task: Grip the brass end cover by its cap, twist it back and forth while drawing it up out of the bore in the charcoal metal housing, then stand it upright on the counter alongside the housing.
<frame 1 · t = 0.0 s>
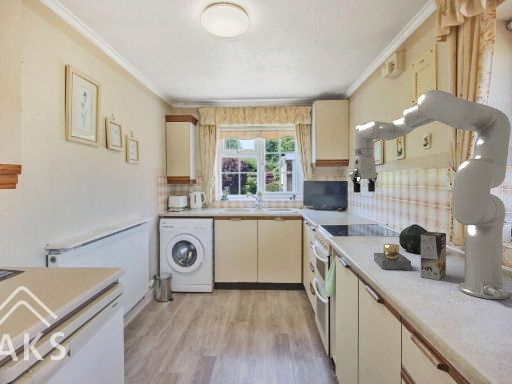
hand: (364, 192, 132), 31 cm above the worktop, tool pointing down, fingers open, 9 cm apart
end cover: (391, 265, 128), resting in housing
coffee box: (433, 276, 112), on the worktop
squash: (415, 252, 150), on the worktop
housing: (391, 264, 128), on the worktop
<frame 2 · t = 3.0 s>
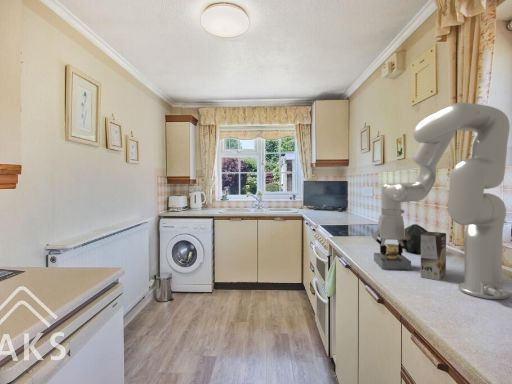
hand: (391, 254, 127), 5 cm above the worktop, tool pointing down, fingers closed on end cover, 6 cm apart
end cover: (391, 264, 128), resting in housing, touching gripper
everything else where it was.
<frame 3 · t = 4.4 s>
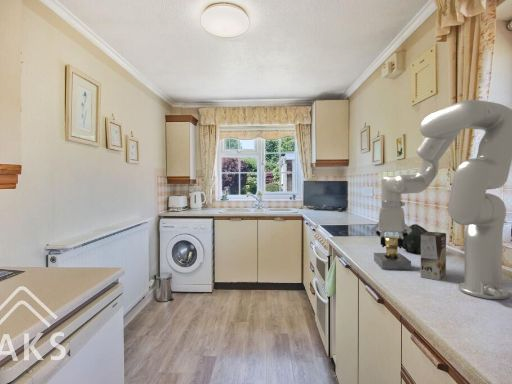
hand: (391, 246, 127), 8 cm above the worktop, tool pointing down, fingers closed on end cover, 6 cm apart
end cover: (391, 257, 127), point 3 cm above the worktop, touching gripper
everything else where it was.
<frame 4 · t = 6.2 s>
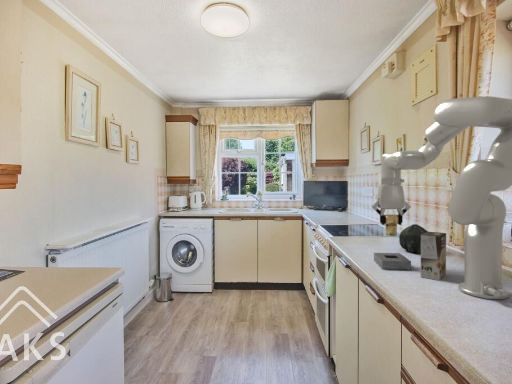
hand: (391, 224, 127), 17 cm above the worktop, tool pointing down, fingers closed on end cover, 6 cm apart
end cover: (391, 234, 127), point 13 cm above the worktop, touching gripper
everything else where it was.
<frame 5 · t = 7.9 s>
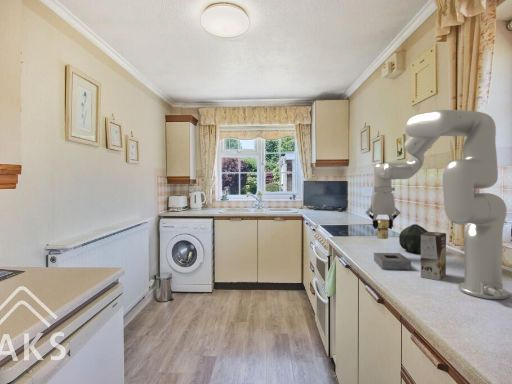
hand: (382, 228, 140), 14 cm above the worktop, tool pointing down, fingers closed on end cover, 6 cm apart
end cover: (382, 237, 140), point 9 cm above the worktop, touching gripper
everything else where it was.
when the fingers open (6 cm above the worktop, at t = 9.6 s): end cover drops 2 cm, on the worktop.
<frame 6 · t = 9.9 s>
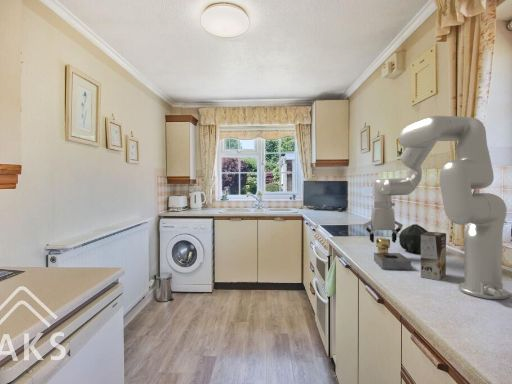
hand: (383, 241, 140), 7 cm above the worktop, tool pointing down, fingers open, 9 cm apart
end cover: (383, 257, 140), on the worktop
everything else where it was.
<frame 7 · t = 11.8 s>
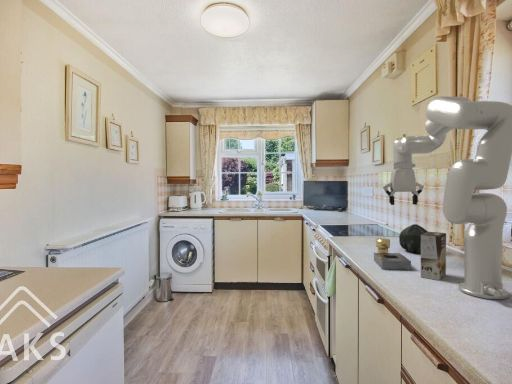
hand: (403, 204, 135), 25 cm above the worktop, tool pointing down, fingers open, 9 cm apart
nothing on the worktop moved.
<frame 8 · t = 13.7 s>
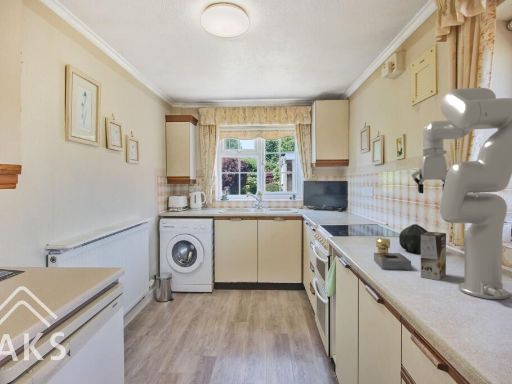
hand: (433, 193, 130), 30 cm above the worktop, tool pointing down, fingers open, 9 cm apart
nothing on the worktop moved.
at the end: end cover inside the target area (0.0 cm from its centre), on the worktop; end cover tilted 0°; the gripper is holding nothing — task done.
